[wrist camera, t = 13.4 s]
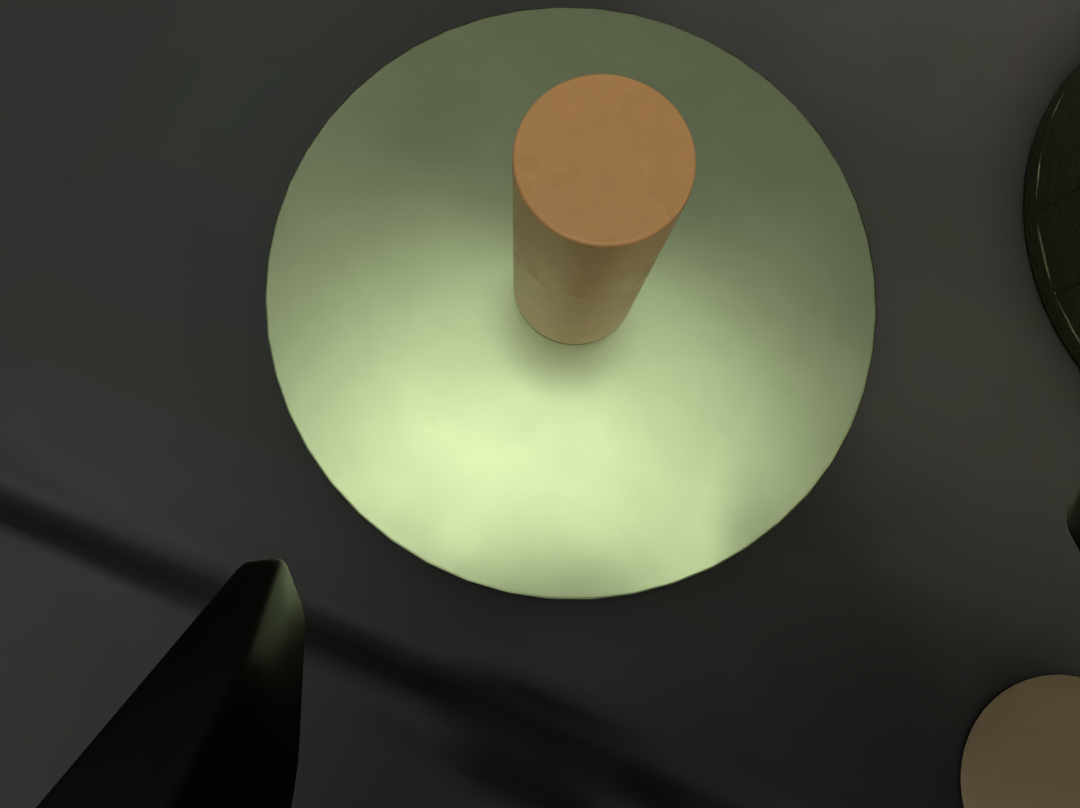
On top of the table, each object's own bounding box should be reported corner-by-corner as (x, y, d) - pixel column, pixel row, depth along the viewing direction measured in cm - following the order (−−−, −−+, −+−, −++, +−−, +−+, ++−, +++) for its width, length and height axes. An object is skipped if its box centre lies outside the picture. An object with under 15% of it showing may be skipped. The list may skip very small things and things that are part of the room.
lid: (959, 439, 18) (1245, 384, 11) (422, 702, 17) (355, 830, 10) (697, -44, 20) (798, -362, 13) (191, 164, 18) (-10, -60, 11)
